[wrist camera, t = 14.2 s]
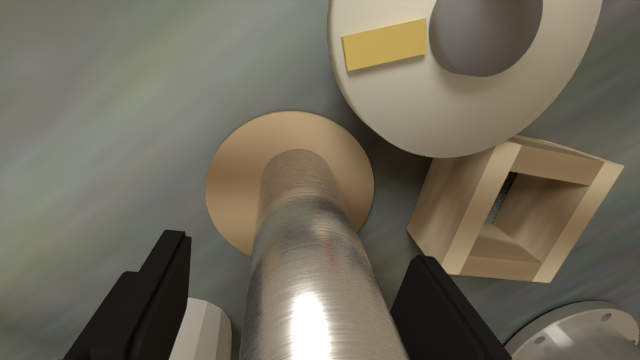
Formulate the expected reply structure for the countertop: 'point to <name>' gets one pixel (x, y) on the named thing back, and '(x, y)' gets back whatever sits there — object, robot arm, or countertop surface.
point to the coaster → (265, 143)
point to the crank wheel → (455, 66)
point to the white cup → (203, 333)
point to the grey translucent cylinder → (311, 273)
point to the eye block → (509, 208)
